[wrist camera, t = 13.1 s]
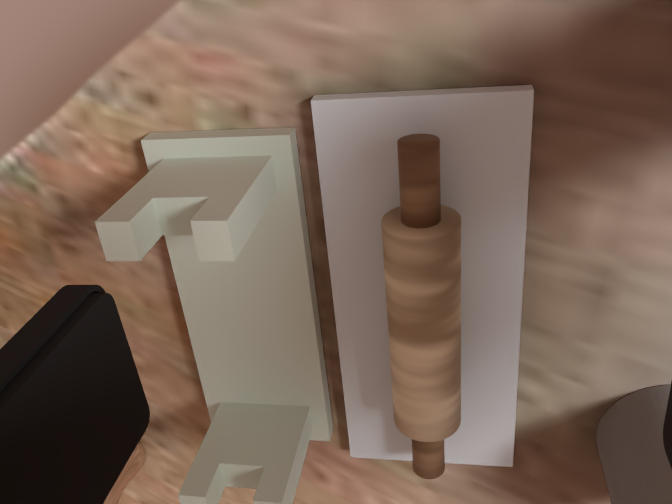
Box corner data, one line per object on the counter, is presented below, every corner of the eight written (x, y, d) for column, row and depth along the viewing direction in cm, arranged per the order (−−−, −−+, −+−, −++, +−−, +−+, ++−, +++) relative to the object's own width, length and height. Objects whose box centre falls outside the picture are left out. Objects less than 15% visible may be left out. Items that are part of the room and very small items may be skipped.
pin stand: (294, 126, 41) (247, 196, 32) (333, 427, 53) (307, 541, 44) (150, 132, 43) (65, 200, 34) (219, 421, 55) (171, 529, 46)
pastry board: (532, 84, 37) (534, 90, 36) (511, 455, 52) (512, 467, 51) (314, 95, 40) (310, 100, 39) (352, 446, 54) (350, 457, 53)
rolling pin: (401, 123, 39) (360, 149, 36) (474, 131, 37) (438, 160, 33) (414, 435, 52) (385, 476, 48) (470, 456, 49) (444, 501, 46)
